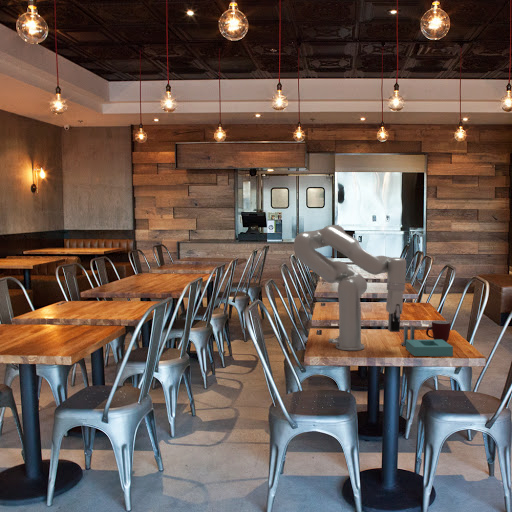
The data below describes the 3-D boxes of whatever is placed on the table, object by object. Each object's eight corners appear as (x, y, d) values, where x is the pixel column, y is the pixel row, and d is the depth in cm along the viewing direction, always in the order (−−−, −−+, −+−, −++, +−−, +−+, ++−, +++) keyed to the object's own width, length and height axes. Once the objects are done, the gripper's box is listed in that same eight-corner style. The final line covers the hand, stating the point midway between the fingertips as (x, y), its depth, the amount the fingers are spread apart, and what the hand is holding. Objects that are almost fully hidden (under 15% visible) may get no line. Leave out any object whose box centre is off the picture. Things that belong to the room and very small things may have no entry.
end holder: (414, 356, 241) (414, 347, 240) (405, 348, 255) (405, 339, 254) (452, 356, 241) (453, 346, 240) (442, 348, 255) (442, 339, 254)
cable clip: (403, 346, 259) (403, 326, 258) (401, 344, 263) (401, 325, 262) (416, 346, 259) (417, 326, 258) (414, 344, 263) (414, 324, 262)
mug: (426, 345, 261) (426, 323, 260) (425, 341, 269) (425, 320, 268) (451, 346, 259) (451, 324, 258) (449, 342, 266) (449, 320, 266)
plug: (390, 331, 246) (391, 309, 245) (388, 329, 250) (389, 308, 249) (399, 332, 246) (400, 310, 245) (397, 329, 250) (398, 308, 249)
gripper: (382, 283, 254) (380, 324, 256) (391, 289, 237) (389, 333, 239) (399, 284, 254) (397, 325, 256) (409, 290, 237) (407, 334, 239)
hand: (393, 328), depth 247 cm, fingers closed on plug, 4 cm apart
